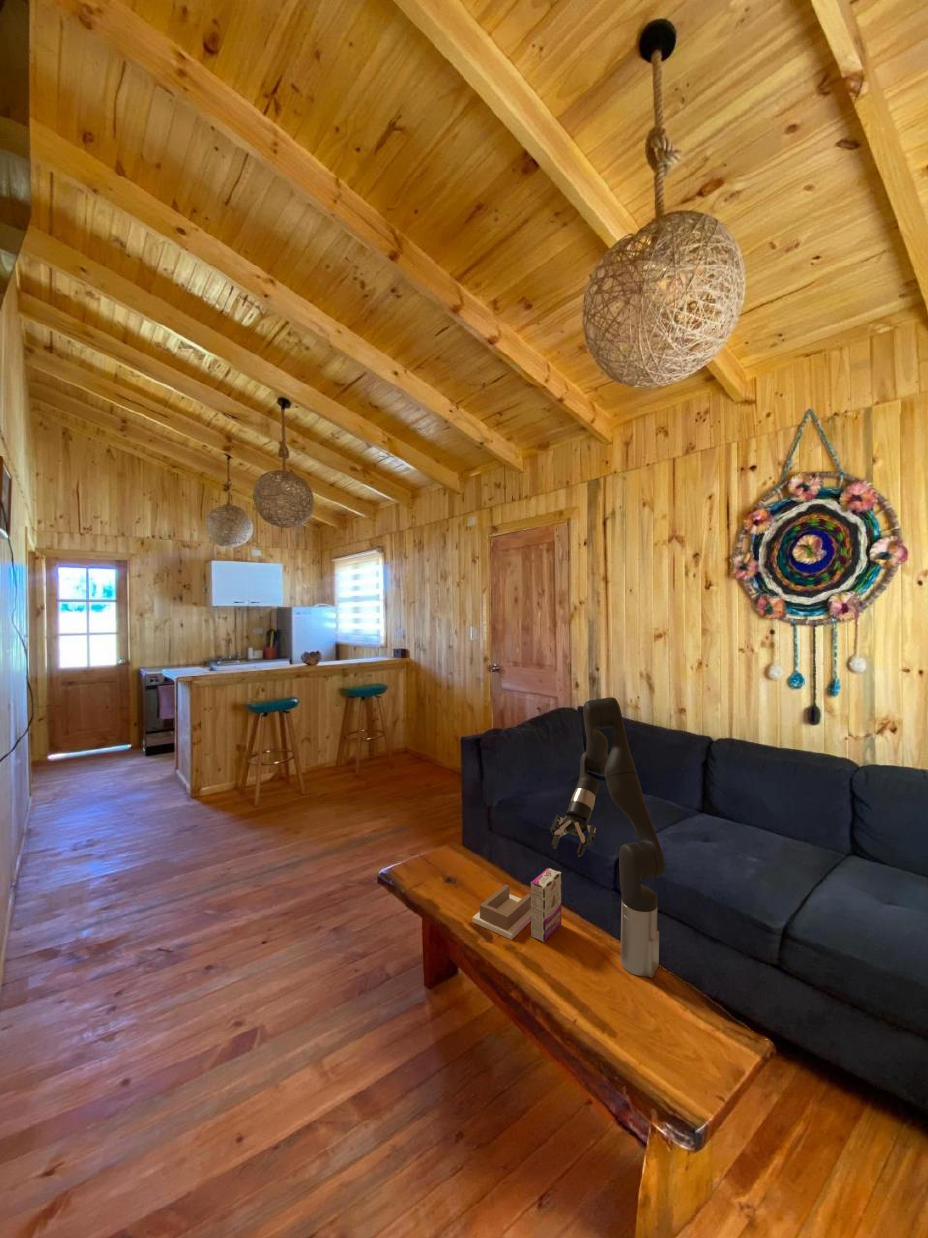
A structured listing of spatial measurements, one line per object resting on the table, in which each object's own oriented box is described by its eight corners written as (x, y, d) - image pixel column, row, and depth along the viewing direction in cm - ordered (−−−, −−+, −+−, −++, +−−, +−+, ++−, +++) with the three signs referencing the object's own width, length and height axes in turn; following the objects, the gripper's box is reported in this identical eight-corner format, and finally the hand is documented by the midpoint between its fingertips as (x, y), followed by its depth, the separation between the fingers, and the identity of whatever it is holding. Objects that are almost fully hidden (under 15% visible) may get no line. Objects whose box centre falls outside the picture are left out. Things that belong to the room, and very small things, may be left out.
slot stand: (540, 911, 164) (540, 894, 164) (511, 940, 149) (511, 921, 149) (503, 896, 172) (503, 880, 172) (472, 922, 158) (472, 904, 158)
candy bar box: (547, 919, 160) (547, 867, 160) (561, 925, 157) (562, 872, 157) (529, 937, 151) (529, 881, 151) (544, 943, 148) (545, 887, 148)
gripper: (558, 795, 175) (542, 840, 166) (598, 805, 167) (583, 853, 158) (565, 806, 180) (549, 850, 171) (604, 816, 171) (590, 863, 162)
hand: (566, 851), depth 164 cm, fingers open, 8 cm apart
